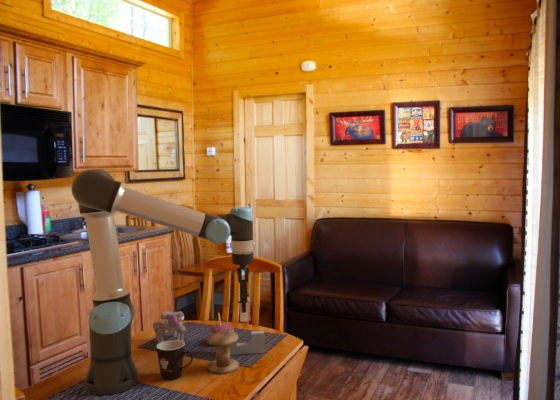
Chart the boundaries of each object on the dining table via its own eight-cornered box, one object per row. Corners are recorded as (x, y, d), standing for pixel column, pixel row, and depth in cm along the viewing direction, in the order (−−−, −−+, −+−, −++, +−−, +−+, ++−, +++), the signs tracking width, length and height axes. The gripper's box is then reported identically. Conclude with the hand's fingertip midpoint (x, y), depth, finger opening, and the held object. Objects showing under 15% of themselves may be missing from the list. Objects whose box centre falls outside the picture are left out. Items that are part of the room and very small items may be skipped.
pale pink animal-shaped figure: (193, 351, 172) (190, 314, 171) (163, 358, 167) (160, 320, 166) (180, 334, 190) (177, 300, 189) (152, 340, 185) (149, 305, 184)
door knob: (206, 374, 153) (205, 343, 152) (208, 362, 163) (207, 332, 162) (238, 373, 153) (238, 342, 153) (238, 360, 163) (238, 331, 163)
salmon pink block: (240, 321, 167) (239, 301, 167) (240, 317, 172) (239, 297, 172) (250, 320, 167) (249, 300, 167) (250, 316, 172) (249, 297, 172)
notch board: (224, 354, 169) (223, 334, 168) (224, 352, 171) (224, 332, 171) (264, 352, 170) (264, 333, 169) (264, 350, 172) (264, 330, 172)
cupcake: (224, 348, 175) (223, 315, 174) (206, 343, 179) (205, 311, 179) (238, 340, 182) (238, 309, 181) (220, 336, 187) (220, 306, 186)
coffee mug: (152, 375, 152) (151, 344, 152) (177, 368, 158) (176, 338, 157) (170, 388, 144) (169, 355, 143) (195, 379, 149) (194, 347, 148)
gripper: (254, 256, 159) (255, 326, 161) (252, 247, 177) (254, 310, 179) (231, 257, 159) (232, 327, 160) (231, 248, 177) (233, 311, 178)
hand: (244, 318), depth 170 cm, fingers closed on salmon pink block, 5 cm apart
